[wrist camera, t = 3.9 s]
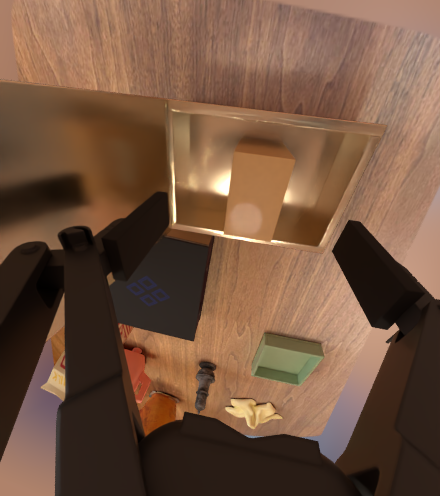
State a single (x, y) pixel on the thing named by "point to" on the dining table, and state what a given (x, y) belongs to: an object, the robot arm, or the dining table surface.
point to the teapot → (137, 372)
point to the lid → (75, 162)
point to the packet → (257, 188)
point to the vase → (158, 411)
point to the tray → (286, 359)
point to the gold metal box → (301, 181)
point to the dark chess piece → (204, 384)
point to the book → (167, 286)
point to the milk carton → (58, 373)
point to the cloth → (252, 411)
